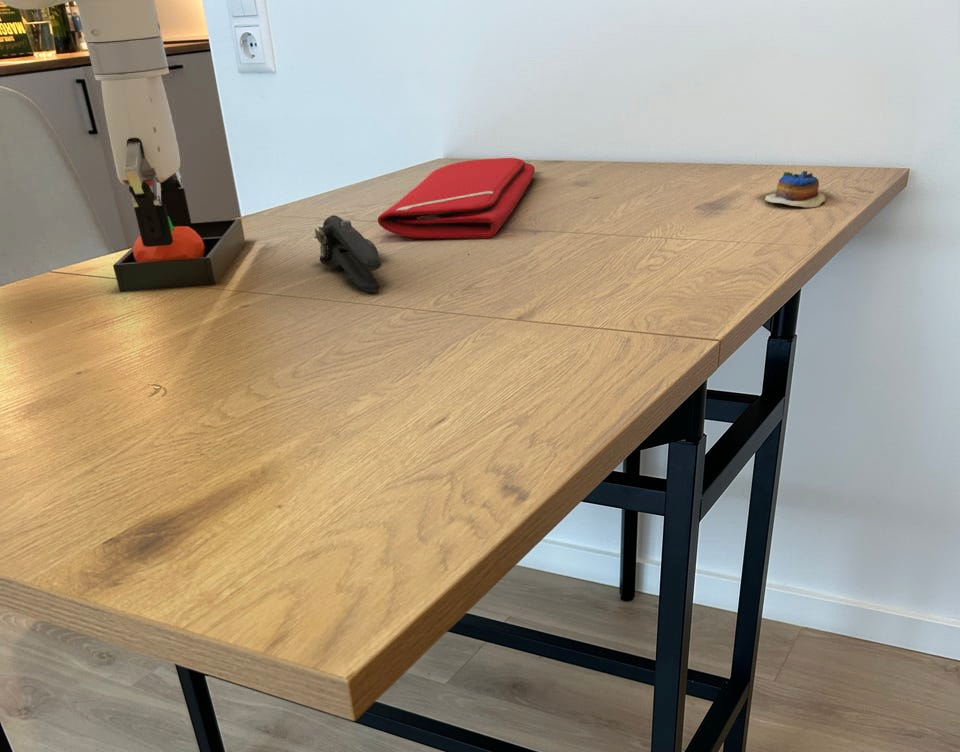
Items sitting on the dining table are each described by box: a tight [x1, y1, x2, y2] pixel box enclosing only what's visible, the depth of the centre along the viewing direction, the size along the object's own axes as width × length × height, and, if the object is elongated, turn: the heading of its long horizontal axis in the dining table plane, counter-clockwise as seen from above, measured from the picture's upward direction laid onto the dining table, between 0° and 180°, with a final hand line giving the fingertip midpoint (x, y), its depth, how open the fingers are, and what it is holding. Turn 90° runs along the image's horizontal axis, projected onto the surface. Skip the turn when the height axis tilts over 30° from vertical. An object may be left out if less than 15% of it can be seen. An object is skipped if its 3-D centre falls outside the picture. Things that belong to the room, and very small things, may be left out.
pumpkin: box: [132, 216, 204, 262], centre depth 113 cm, size 7×8×6 cm
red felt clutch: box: [377, 157, 536, 239], centre depth 140 cm, size 16×41×4 cm, turn 171°
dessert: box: [764, 170, 826, 208], centre depth 129 cm, size 8×7×6 cm
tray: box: [112, 218, 246, 293], centre depth 119 cm, size 11×21×4 cm, turn 2°
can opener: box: [313, 214, 382, 293], centre depth 111 cm, size 18×7×6 cm, turn 17°
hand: (168, 235), depth 113 cm, fingers open, 9 cm apart
